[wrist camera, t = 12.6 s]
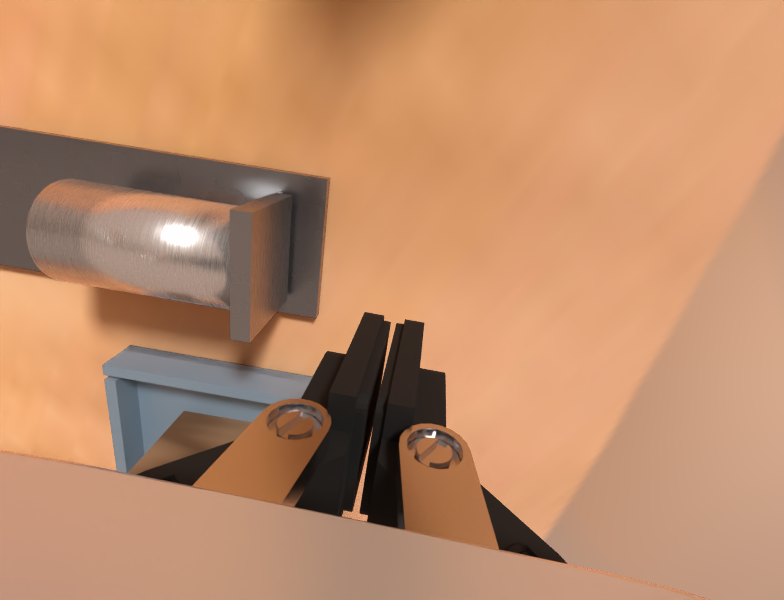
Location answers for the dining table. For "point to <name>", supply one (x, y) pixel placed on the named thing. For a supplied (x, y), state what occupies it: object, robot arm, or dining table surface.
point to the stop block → (190, 438)
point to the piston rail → (162, 175)
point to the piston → (167, 247)
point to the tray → (183, 394)
